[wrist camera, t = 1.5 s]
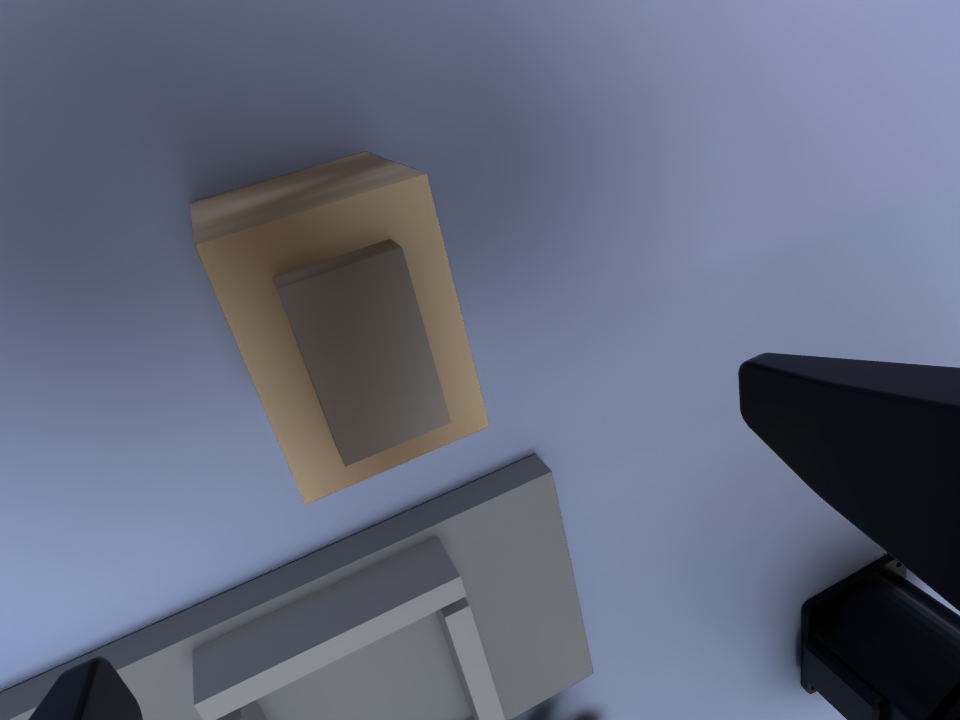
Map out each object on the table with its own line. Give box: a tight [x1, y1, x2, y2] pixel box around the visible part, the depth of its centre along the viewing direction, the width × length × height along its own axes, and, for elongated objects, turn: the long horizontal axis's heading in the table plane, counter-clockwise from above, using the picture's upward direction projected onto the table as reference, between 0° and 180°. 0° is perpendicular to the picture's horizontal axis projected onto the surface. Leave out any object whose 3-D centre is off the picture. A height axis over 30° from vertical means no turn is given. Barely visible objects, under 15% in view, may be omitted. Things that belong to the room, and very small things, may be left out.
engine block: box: [189, 151, 490, 505], centre depth 16 cm, size 4×6×6 cm
